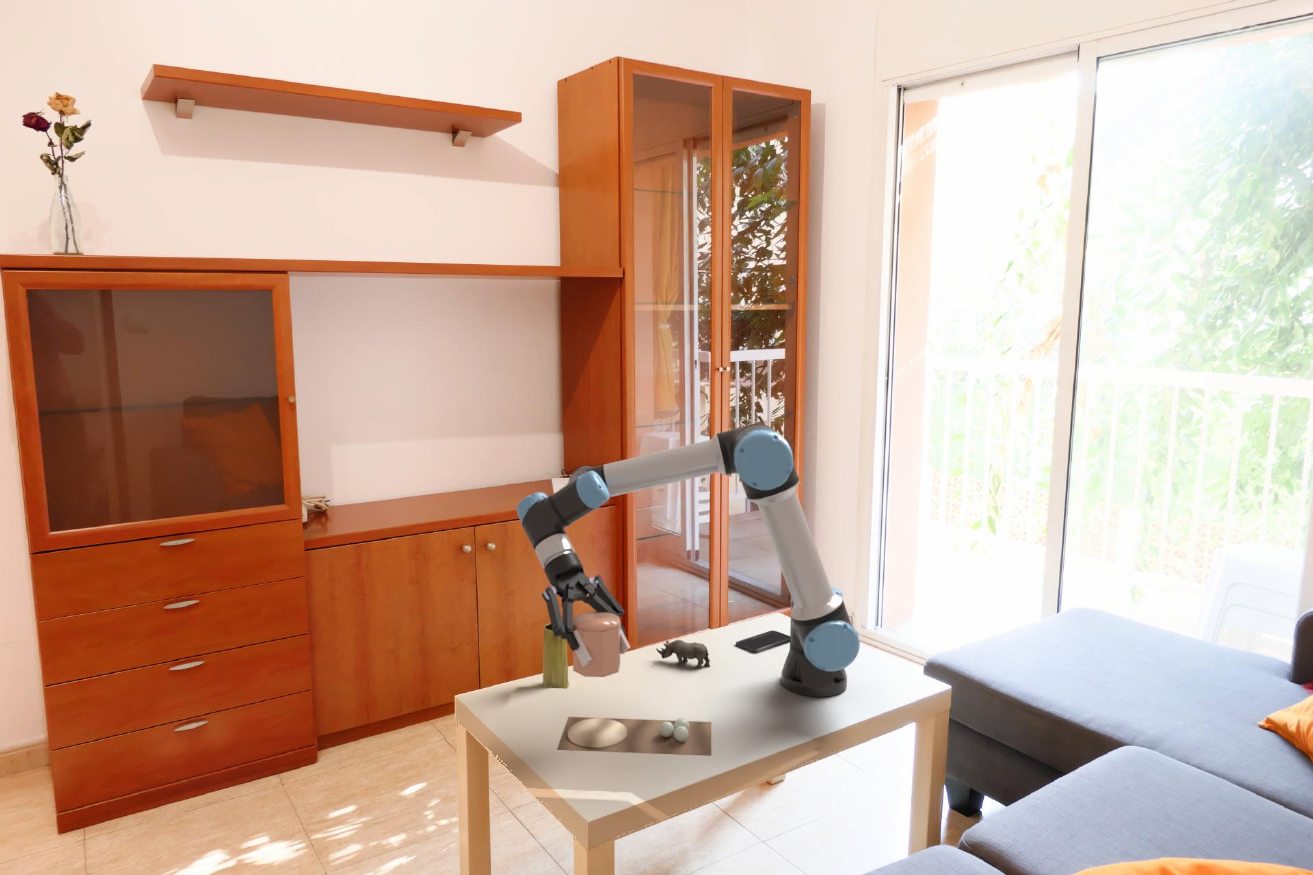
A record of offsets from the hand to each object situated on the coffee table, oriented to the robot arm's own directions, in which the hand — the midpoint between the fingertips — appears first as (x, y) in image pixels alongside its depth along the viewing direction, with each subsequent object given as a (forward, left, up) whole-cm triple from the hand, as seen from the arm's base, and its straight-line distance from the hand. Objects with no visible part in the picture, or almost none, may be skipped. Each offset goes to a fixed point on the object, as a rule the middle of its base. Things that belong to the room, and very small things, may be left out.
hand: (607, 656), depth 172 cm
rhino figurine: (-14, -43, -19) cm, 49 cm away
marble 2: (-15, -4, -16) cm, 22 cm away
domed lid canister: (+2, -2, -3) cm, 5 cm away
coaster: (+2, -2, -17) cm, 18 cm away
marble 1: (-12, -2, -16) cm, 20 cm away
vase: (+15, -27, -19) cm, 36 cm away
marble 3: (-15, -1, -16) cm, 22 cm away
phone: (-35, -58, -19) cm, 70 cm away
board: (-6, -2, -18) cm, 20 cm away
